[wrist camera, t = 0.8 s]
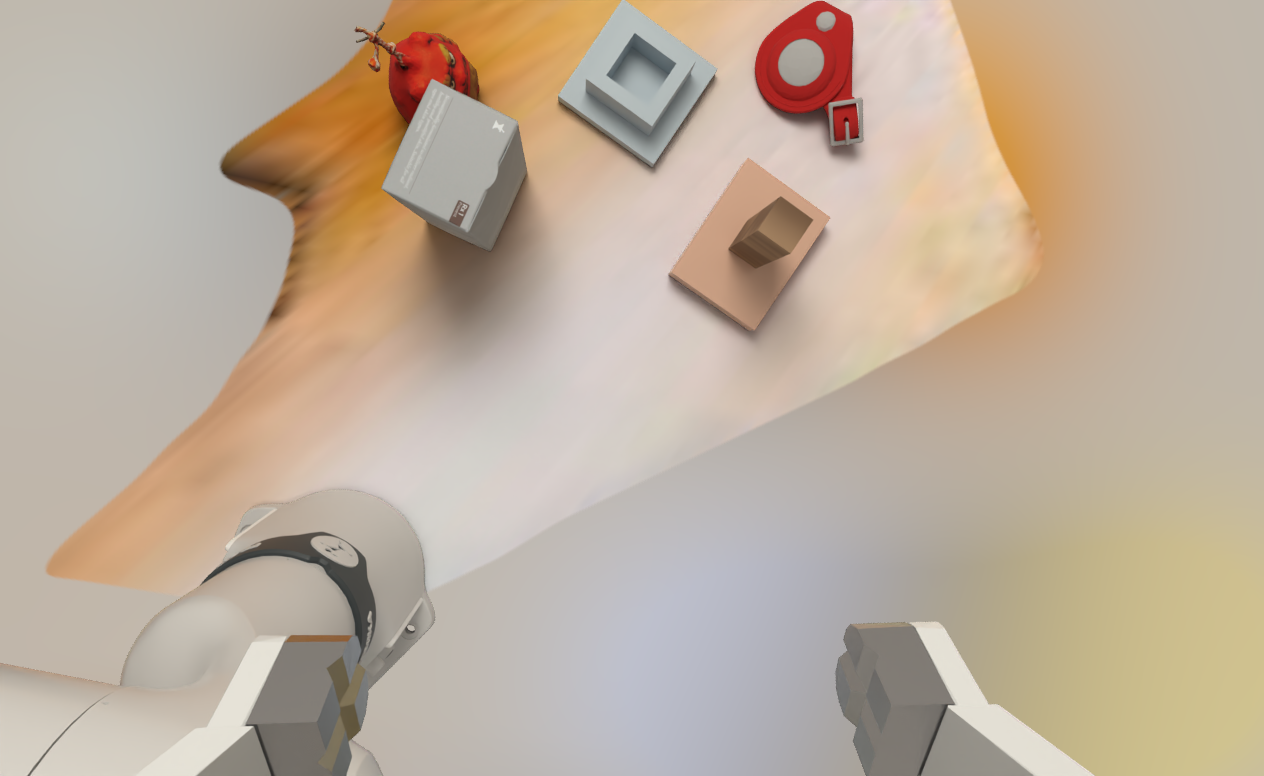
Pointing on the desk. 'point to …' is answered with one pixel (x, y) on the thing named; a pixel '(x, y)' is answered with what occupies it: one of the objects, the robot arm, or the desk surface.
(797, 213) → the post
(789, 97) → the tracker holder
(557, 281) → the desk surface
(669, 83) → the grey square socket base
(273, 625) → the robot arm
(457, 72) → the red clay folk toy
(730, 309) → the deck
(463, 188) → the skincare box
